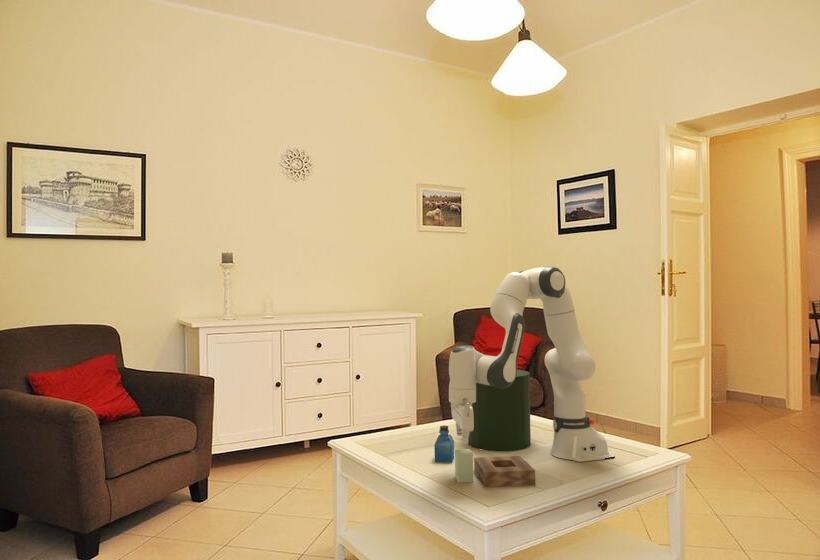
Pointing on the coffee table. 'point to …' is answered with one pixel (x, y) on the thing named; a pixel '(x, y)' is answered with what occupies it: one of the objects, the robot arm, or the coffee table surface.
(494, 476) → the walnut stand
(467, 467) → the sage plug
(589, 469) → the coffee table surface
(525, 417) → the flower pot
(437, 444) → the perfume bottle
